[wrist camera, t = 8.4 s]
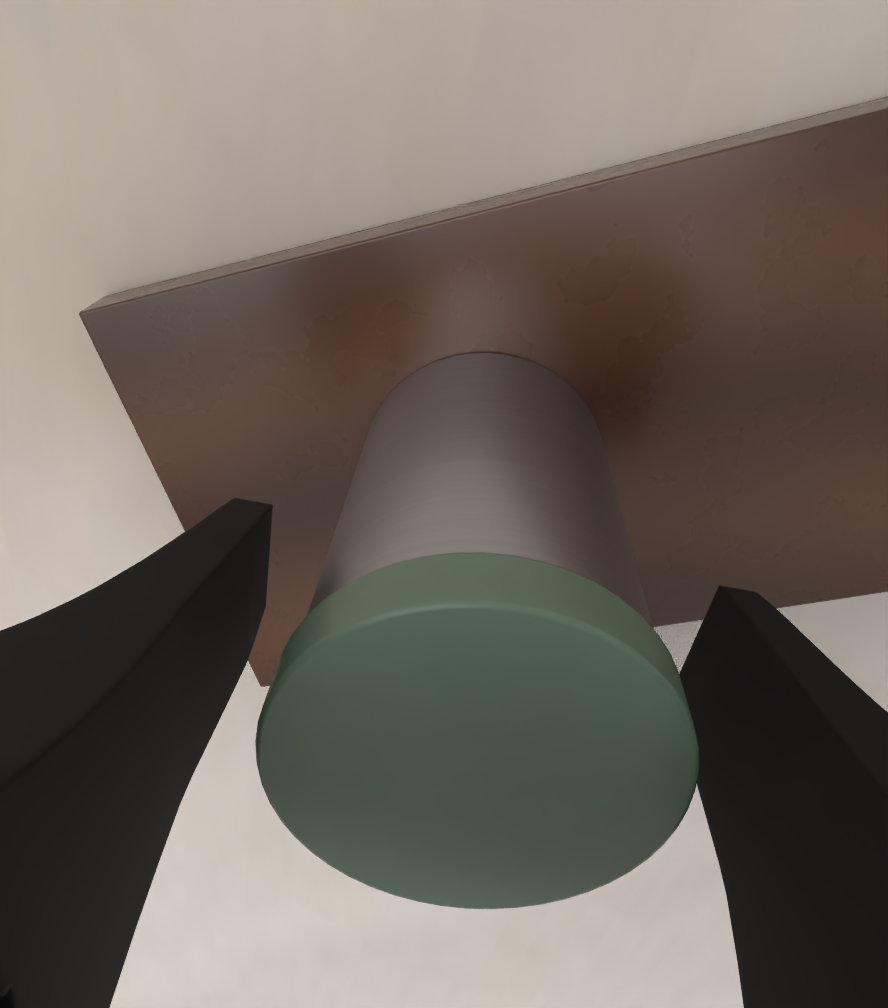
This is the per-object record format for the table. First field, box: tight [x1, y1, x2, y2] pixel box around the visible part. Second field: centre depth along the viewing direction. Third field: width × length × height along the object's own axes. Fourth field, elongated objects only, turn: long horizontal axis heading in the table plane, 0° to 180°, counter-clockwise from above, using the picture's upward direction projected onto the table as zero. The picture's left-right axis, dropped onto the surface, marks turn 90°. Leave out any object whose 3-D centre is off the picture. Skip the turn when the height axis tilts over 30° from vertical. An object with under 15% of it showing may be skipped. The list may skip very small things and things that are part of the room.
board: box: [79, 97, 888, 687], centre depth 16 cm, size 10×24×1 cm, turn 104°
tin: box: [255, 353, 699, 909], centre depth 13 cm, size 5×5×8 cm
